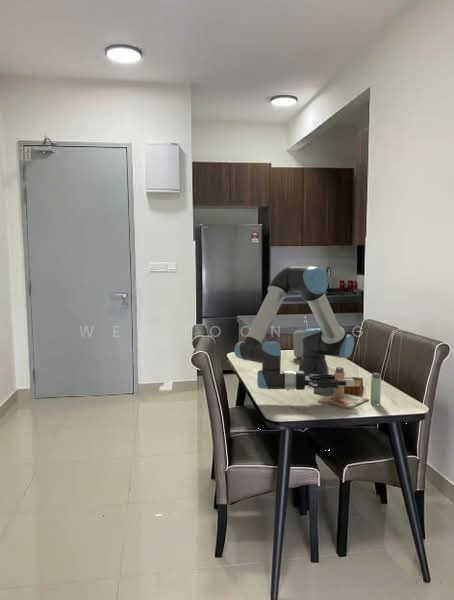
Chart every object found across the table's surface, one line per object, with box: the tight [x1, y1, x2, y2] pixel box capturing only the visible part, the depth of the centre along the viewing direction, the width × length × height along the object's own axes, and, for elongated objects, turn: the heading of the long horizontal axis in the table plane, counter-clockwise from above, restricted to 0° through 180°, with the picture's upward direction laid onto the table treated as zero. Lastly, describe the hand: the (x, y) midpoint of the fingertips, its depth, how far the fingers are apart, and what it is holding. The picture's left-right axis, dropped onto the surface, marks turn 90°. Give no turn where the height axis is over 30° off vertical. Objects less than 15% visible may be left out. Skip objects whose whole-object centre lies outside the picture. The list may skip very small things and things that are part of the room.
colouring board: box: [318, 393, 370, 410], centre depth 190 cm, size 16×14×1 cm
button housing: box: [313, 388, 334, 396], centre depth 203 cm, size 6×6×2 cm
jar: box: [292, 315, 314, 359], centre depth 270 cm, size 19×15×25 cm
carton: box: [344, 376, 364, 396], centre depth 207 cm, size 8×16×4 cm, turn 159°
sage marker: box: [369, 372, 382, 406], centre depth 187 cm, size 4×4×12 cm
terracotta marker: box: [333, 366, 345, 399], centre depth 187 cm, size 4×4×12 cm
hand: (353, 381), depth 187 cm, fingers closed on terracotta marker, 4 cm apart
